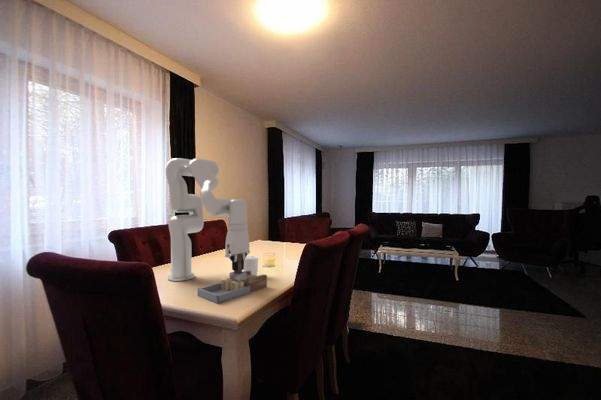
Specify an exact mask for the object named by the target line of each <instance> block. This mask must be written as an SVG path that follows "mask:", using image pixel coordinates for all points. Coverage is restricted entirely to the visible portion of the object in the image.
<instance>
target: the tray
mask: <svg viewBox="0 0 601 400" xmlns="http://www.w3.org/2000/svg"><path fill="white" fill-rule="evenodd" d="M248 294H251V293H250V286H246V287H243V288H240V289H236V290H233V291H231V290H229V291H225V290H222V281H221V282H217V283H214V284H211V285H206V286H203V287H198V288H197V296H198V298H199V297H200V298H202V299H205V300H206V301H209V302H212V303H214V304H217V305H219V304H221V303H224V302H227V301H231V300H235V299H237V298H240V297H242V296H245V295H248Z"/></svg>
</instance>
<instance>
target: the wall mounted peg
mask: <svg viewBox="0 0 601 400" xmlns="http://www.w3.org/2000/svg"><path fill="white" fill-rule="evenodd" d="M237 262H238V271H234V270H233V271H231V272H229V278H230V279H233V280H237V281H242V280H246V279H247V273H243V270H242V254H237Z"/></svg>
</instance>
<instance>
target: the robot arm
mask: <svg viewBox="0 0 601 400" xmlns="http://www.w3.org/2000/svg"><path fill="white" fill-rule="evenodd" d="M218 174H219V166H218V164H217V162H215V161H214V160H211V159H205V158H193V159H189V158H181V157H179V158H177V157H175V158H171V159H170V160H168V161H167V164H166V165H165V177H166V180H167V184H168V192H169V206H170V209H171V210H172V212H174V213H188V214H179V215H175V216H172V217H171V218H170V219H169V221H168V230H169V234H170V270H169V271H170V274H169V275H168V276H167V280H168V281H171V282H182V281H187V280H192V279H194V278H195V276H196V274H195V273H194V272H192V268H193V267H192V240H191V238H190V237H189V235H188V234H193V233H199V232H200V231H202V229H203V228H204V224H205V223H204V210H203V207H204V209H205V211H206V212H207V213H208V214H209V215H211V216H213V217H220V216H225V217H226V216H228V230H227V232H226V237H225V247H224V248H225V249H224V250H225V255H224V257H225V258H227V259H229V260H230V261H231V268H232V271H233V272H234V271H238V262H237V254H242V271H243V269H244V260H245V258H246V257H247V256H248V255H250V253H251V249H250V237H249V230H248V228H249V224H248V217H247V216H248V215H247V214H248V212H247V211H248V210H247V206H248V204H247V203H248V202H247V200H246V199H237V198H235V199H233V198H216V197H215V196H214V194H213V192H212V191H213V190H215V189H216V188H217V187H218V185H219V179H218V178H217V175H218ZM183 176H186V177H193V178H194V179H195V181H196V183H197V184H198V185H199V187H200V193H199V195H197V194H193V193H189V192H188V185H187V183H186V180H185V179H184V177H183Z"/></svg>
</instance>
